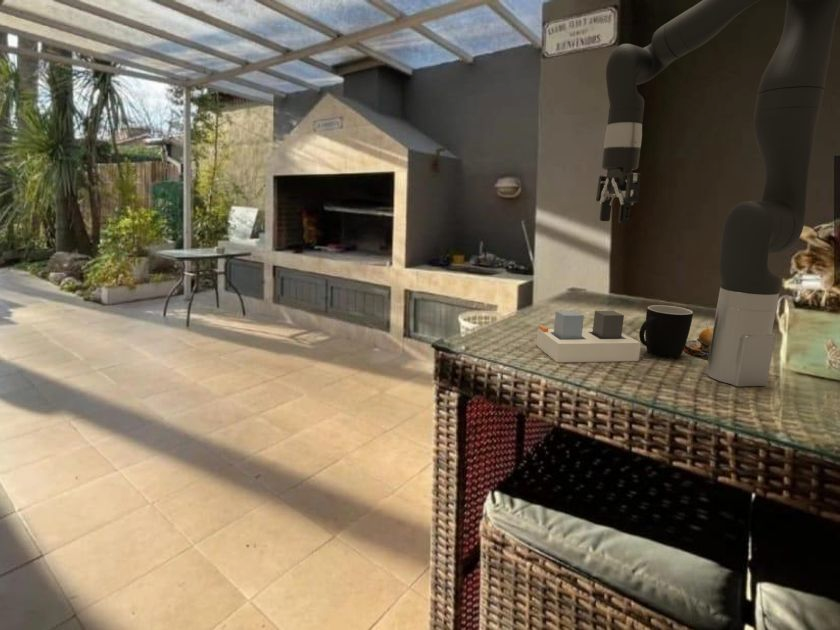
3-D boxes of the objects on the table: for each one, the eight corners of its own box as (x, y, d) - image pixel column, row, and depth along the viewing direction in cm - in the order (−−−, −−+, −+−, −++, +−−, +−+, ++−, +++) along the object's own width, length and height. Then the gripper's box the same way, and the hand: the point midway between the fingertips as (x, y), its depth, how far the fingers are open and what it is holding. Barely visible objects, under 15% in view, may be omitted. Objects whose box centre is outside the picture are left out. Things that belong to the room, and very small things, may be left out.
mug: (661, 346, 115) (668, 304, 113) (695, 358, 107) (703, 312, 105) (622, 351, 111) (627, 307, 108) (654, 363, 103) (660, 316, 100)
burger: (753, 366, 104) (759, 331, 102) (692, 361, 106) (697, 327, 104) (730, 349, 115) (736, 318, 114) (675, 345, 118) (680, 314, 116)
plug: (580, 351, 106) (583, 315, 104) (560, 352, 106) (564, 315, 104) (571, 345, 110) (574, 310, 109) (552, 346, 110) (555, 310, 108)
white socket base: (638, 361, 104) (644, 319, 102) (556, 362, 102) (560, 320, 100) (610, 344, 116) (614, 307, 114) (536, 345, 113) (539, 307, 111)
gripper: (657, 144, 102) (646, 224, 106) (621, 150, 116) (613, 220, 119) (622, 142, 101) (613, 223, 105) (590, 149, 115) (583, 220, 118)
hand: (613, 221), depth 112 cm, fingers open, 8 cm apart
